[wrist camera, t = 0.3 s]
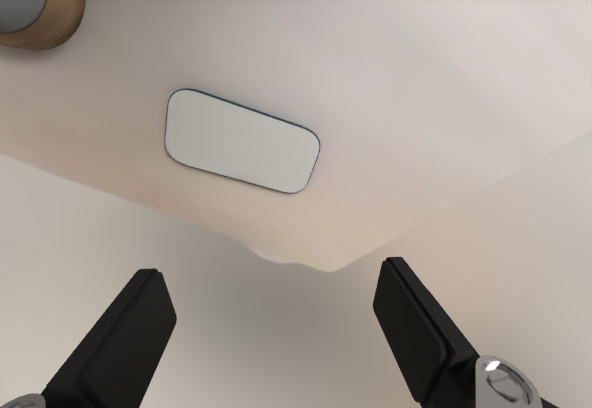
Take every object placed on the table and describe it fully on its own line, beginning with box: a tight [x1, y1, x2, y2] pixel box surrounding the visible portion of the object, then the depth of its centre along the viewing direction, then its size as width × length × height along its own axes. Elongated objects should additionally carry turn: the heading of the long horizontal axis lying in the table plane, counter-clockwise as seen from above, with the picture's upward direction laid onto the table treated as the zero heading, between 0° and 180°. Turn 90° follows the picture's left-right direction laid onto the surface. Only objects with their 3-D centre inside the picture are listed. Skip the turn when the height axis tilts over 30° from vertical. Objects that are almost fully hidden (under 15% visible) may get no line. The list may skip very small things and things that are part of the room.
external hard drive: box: [165, 89, 320, 193], centre depth 36 cm, size 24×12×2 cm, turn 72°
